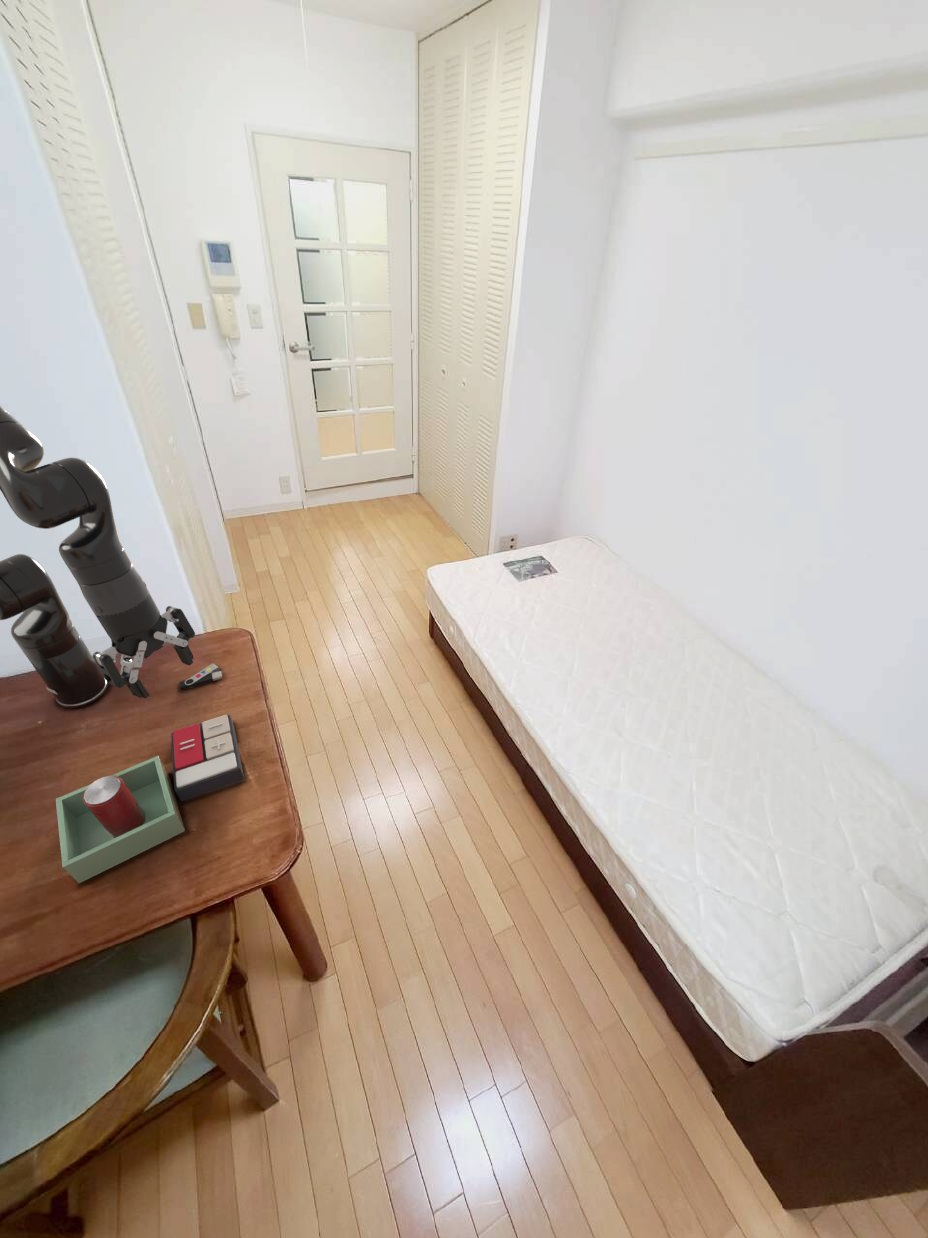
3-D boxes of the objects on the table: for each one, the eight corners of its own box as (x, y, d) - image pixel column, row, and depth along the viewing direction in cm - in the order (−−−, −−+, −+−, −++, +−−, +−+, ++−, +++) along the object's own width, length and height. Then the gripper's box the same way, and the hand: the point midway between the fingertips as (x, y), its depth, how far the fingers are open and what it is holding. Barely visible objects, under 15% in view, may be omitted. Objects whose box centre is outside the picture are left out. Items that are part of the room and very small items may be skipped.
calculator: (229, 711, 103) (239, 766, 92) (234, 725, 106) (244, 780, 95) (169, 729, 99) (172, 789, 88) (176, 743, 102) (180, 803, 91)
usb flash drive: (181, 691, 111) (179, 688, 111) (179, 675, 115) (178, 672, 114) (222, 679, 114) (221, 676, 114) (220, 664, 118) (219, 661, 117)
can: (106, 819, 88) (79, 785, 81) (142, 802, 90) (119, 768, 84) (111, 845, 84) (83, 812, 78) (148, 827, 87) (124, 794, 80)
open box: (71, 817, 88) (55, 799, 84) (169, 774, 96) (158, 755, 92) (80, 885, 80) (62, 867, 76) (186, 832, 87) (174, 814, 83)
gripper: (146, 570, 81) (187, 648, 91) (57, 620, 71) (113, 701, 81) (177, 579, 78) (216, 658, 88) (88, 631, 68) (142, 715, 78)
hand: (166, 679), depth 84 cm, fingers open, 8 cm apart
